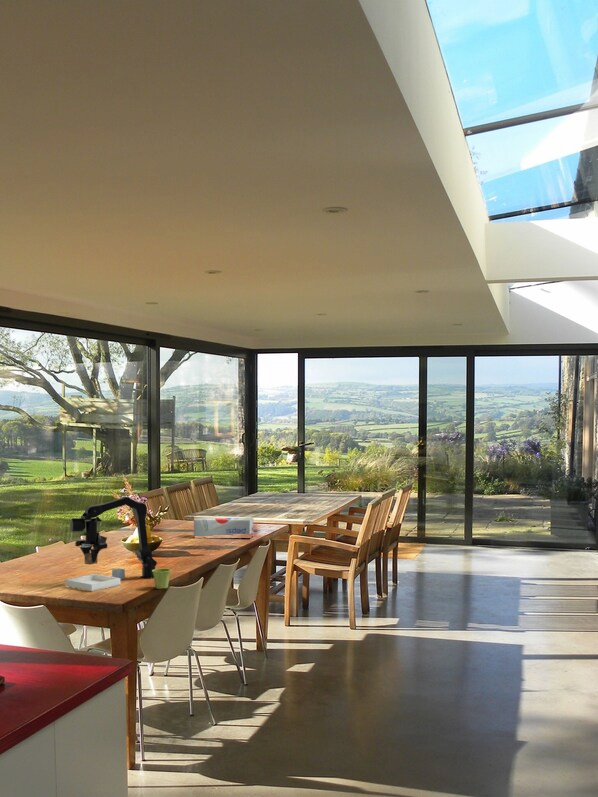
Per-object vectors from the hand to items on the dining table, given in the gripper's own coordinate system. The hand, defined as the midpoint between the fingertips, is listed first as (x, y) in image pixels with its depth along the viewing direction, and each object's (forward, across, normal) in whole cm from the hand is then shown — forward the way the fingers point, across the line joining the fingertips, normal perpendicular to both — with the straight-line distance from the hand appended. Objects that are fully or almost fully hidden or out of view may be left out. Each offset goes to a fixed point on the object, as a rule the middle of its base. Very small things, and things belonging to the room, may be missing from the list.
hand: (91, 561), depth 395 cm
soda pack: (+10, +49, -153) cm, 161 cm away
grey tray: (+11, -5, +3) cm, 13 cm away
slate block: (+11, -2, -16) cm, 20 cm away
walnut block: (+1, 0, 0) cm, 1 cm away
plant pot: (+11, -36, -15) cm, 40 cm away
